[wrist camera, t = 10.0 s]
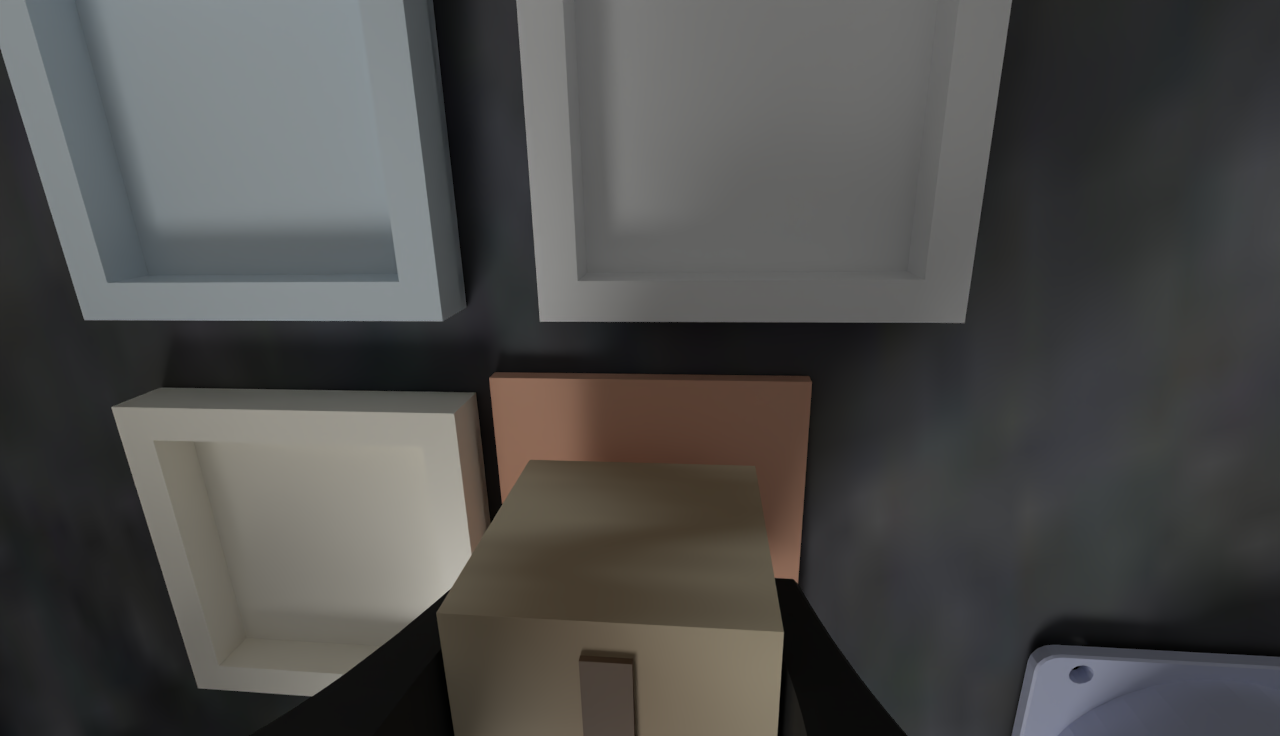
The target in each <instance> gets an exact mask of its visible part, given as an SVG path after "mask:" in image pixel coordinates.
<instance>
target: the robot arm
mask: <svg viewBox="0 0 1280 736" xmlns="http://www.w3.org/2000/svg"><path fill="white" fill-rule="evenodd" d="M775 584H776V589H777V595H778V601H779V607H780V613H781V618H782V624H783V630H784V638H783V654H782V670H781V686H780V701H779V717H778V733H777V736H907V735H906V733H905V732H904V731H903V730H902V729H901V728H900V727H899V725H898V724H897V723H896V722H895V721H894V719H893V718H892V717H891V716H890V715H889V713H888V712H887V711H886V710H885V709H884V707H883V706H882V705H881V704H880V702H879V701H878V700H877V699H876V697H875V696H874V695H873V694H872V693H871V691H870V690H869V689H868V687H867V686H866V685H865V683H864V682H863V681H862V680H861V678H860V677H859V676H858V674H857V673H856V671H855V670H854V669H853V667H852V666H851V665H850V663H849V662H848V660H847V659H846V658H845V656H844V655H843V654H842V652H841V651H840V649H839V648H838V647H837V645H836V644H835V642H834V641H833V639H832V638H831V636H830V635H829V633H828V632H827V630H826V629H825V627H824V626H823V624H822V623H821V621H820V620H819V618H818V616H817V615H816V613H815V612H814V610H813V608H812V607H811V605H810V603H809V602H808V600H807V598H806V597H805V595H804V593H803V591H802V590H801V588H800V586H799V584H798V583H797V582H796V581H795V580H794V579H785V578H775ZM450 590H451V589H450ZM450 590H449V591H450ZM449 591H447V592H446V593H445V594H444V595H443V596H442V597H441V598H439V599H438V600H437V601H436V602H435V603H434V604H432V605H431V606H430V607H429V608H428V609H426V610H425V611H424V612H423V613H422V614H420V615H419V616H418V617H417V618H416V619H414V620H413V621H412V622H411V623H410V624H408V625H407V626H406V627H405V628H404V629H402V630H401V631H400V632H399V633H398V634H396V635H395V636H394V637H392V638H391V639H390V640H389V641H387V642H386V643H385V644H383V645H382V646H381V647H379V648H378V649H377V650H375V651H374V652H373V653H372V654H370V655H369V656H368V657H366V658H365V659H364V660H362V661H361V662H360V663H358V664H357V665H356V666H355V667H353V668H352V669H351V670H349V671H348V672H347V673H345V674H344V675H343V676H341V677H340V678H338V679H337V680H336V681H334V682H333V683H331V684H330V685H328V686H327V687H325V688H324V689H323V690H321V691H320V692H318V693H317V694H315V695H314V696H312V697H311V698H309V699H308V700H306V701H305V702H303V703H301V704H300V705H298V706H297V707H295V708H294V709H292V710H291V711H289V712H288V713H286V714H285V715H283V716H281V717H280V718H278V719H276V720H275V721H273V722H272V723H270V724H268V725H267V726H265V727H263V728H261V729H260V730H258V731H256V732H254V733H253V734H251V735H249V736H454V729H453V722H452V716H451V709H450V702H449V696H448V689H447V682H446V676H445V669H444V662H443V656H442V649H441V642H440V636H439V629H438V622H437V615H436V612H437V611H438V609H439V608H440V606H441V604H442V603H443V601H444V599H445V598H446V596H447V594H448V593H449ZM1077 666H1081V667H1079V668H1078V669H1076V670H1072V669H1073V668H1075V667H1077ZM1012 736H1280V657H1272V656H1254V655H1235V654H1217V653H1198V652H1180V651H1162V650H1143V649H1125V648H1106V647H1088V646H1070V645H1045V646H1042V647H1040V648H1037V649H1036V650H1035V651H1034V652H1033V653H1032V654H1031V655H1030V657H1029V659H1028V662H1027V667H1026V671H1025V676H1024V681H1023V685H1022V690H1021V694H1020V699H1019V704H1018V708H1017V713H1016V717H1015V722H1014V727H1013V731H1012Z"/></svg>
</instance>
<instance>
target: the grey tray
mask: <svg viewBox="0 0 1280 736" xmlns="http://www.w3.org/2000/svg"><path fill="white" fill-rule="evenodd" d="M516 2H517V16H518V29H519V43H520V57H521V70H522V84H523V98H524V111H525V125H526V139H527V152H528V166H529V180H530V193H531V207H532V220H533V234H534V248H535V261H536V275H537V289H538V302H539V316H540V322H837V323H965V318H966V311H967V304H968V297H969V290H970V283H971V277H972V270H973V263H974V256H975V249H976V243H977V236H978V229H979V222H980V215H981V208H982V202H983V195H984V188H985V181H986V174H987V168H988V161H989V154H990V147H991V140H992V134H993V127H994V120H995V113H996V106H997V99H998V93H999V86H1000V79H1001V72H1002V65H1003V59H1004V52H1005V45H1006V38H1007V31H1008V24H1009V18H1010V11H1011V4H1012V0H516Z"/></svg>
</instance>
